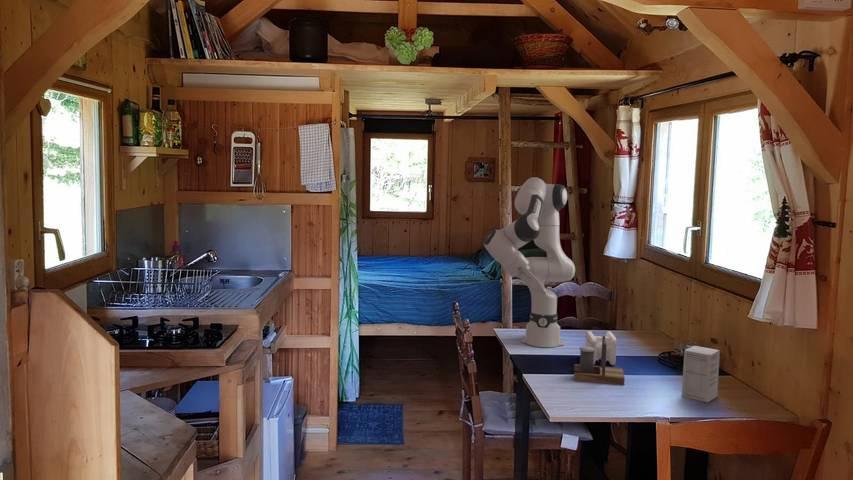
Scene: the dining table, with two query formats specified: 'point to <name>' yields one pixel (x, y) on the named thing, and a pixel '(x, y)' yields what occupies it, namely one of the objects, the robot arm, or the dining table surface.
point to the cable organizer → (597, 344)
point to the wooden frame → (601, 371)
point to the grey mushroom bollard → (586, 359)
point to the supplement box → (700, 373)
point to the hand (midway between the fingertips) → (542, 292)
